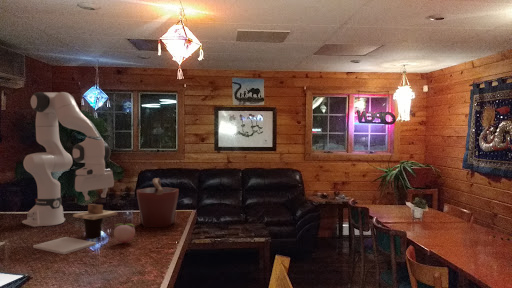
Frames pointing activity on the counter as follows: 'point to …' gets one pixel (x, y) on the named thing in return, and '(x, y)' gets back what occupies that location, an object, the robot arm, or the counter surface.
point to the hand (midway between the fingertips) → (95, 198)
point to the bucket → (157, 205)
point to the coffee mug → (93, 228)
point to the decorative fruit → (124, 232)
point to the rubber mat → (64, 245)
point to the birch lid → (95, 212)
